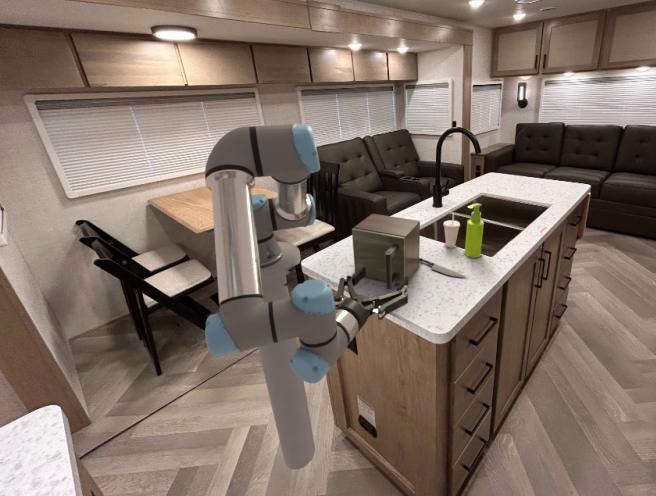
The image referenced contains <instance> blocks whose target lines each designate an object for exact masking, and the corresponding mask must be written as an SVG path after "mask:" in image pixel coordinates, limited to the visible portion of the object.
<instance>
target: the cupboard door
mask: <svg viewBox="0 0 656 496" xmlns="http://www.w3.org/2000/svg"><path fill="white" fill-rule="evenodd" d="M351 236H352V238H351V239H352V251H353V264H354V274H356V273H357V272H358V271H359V270H360V269H361V268H362V267H363V266H364V267H366V275H365V276H364V277H365V278H369V279H374V280H378V281H381V282H385V289H386V290H388V291H389V290H392V289H393V288H394V287H395V285H398V286H399V285H400V283H401V282H402V281H403V279H404V278H405V237H401V236H395V235H389V234H384V233H378V232H372V231H367V230H361V229H355V228H354V227H353V228H352V229H351Z"/></svg>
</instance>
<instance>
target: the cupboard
mask: <svg viewBox="0 0 656 496" xmlns="http://www.w3.org/2000/svg"><path fill="white" fill-rule="evenodd" d="M353 228H355V229H361V230H367V231H372V232H378V233H384V234H389V235H395V236H401V237H405V277H406V276H408V281H409V280H410V278H411V277H412V276H413V275H414V273H415V272H416V270H417V269H418V267H419V266H420V261H419V258H420V251H421V250H420V247H421V245H420V243H421V220H416V219H410V218H405V217H398V216H391V215H385V214H384V215H383V214H378V213H371V214H370V215H369V216H367V217H365V218H364V219H362V221H360V222H359V223H358V224H356V225H355V226H353Z"/></svg>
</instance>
